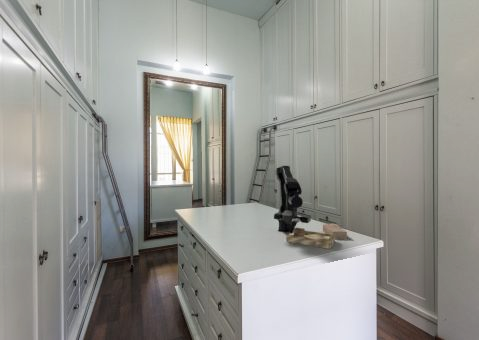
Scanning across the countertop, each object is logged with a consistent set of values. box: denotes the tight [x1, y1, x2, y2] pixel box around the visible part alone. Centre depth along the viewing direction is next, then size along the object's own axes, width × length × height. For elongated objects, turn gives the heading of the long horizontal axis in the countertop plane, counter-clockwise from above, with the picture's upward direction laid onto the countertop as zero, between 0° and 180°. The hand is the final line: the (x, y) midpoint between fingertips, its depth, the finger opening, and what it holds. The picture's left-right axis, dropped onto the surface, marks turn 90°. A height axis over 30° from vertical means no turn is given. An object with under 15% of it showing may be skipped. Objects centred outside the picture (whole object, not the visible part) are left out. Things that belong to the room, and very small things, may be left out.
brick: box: [322, 223, 348, 240], centre depth 135 cm, size 17×8×5 cm, turn 179°
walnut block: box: [294, 226, 306, 237], centre depth 123 cm, size 4×4×4 cm
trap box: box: [285, 230, 336, 250], centre depth 123 cm, size 22×13×4 cm, turn 59°
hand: (291, 233), depth 125 cm, fingers closed
